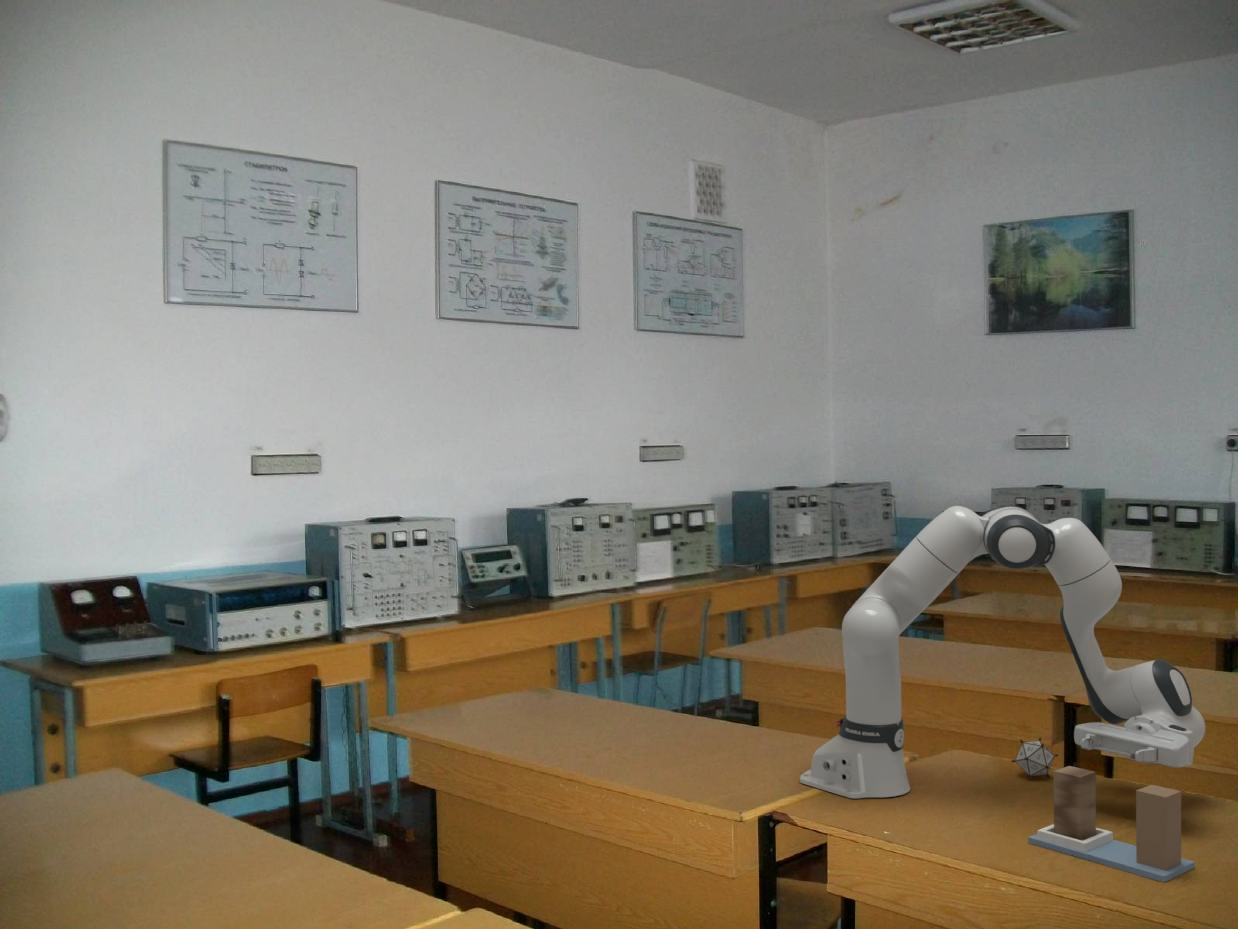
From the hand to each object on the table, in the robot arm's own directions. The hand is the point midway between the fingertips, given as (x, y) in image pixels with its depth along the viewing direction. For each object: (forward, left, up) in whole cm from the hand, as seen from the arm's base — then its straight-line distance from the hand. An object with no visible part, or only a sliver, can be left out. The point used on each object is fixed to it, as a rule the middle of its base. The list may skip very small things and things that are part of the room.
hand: (1108, 750), depth 216 cm
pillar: (-2, -12, -14) cm, 18 cm away
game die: (-24, +24, -15) cm, 37 cm away
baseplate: (+4, -13, -15) cm, 20 cm away
